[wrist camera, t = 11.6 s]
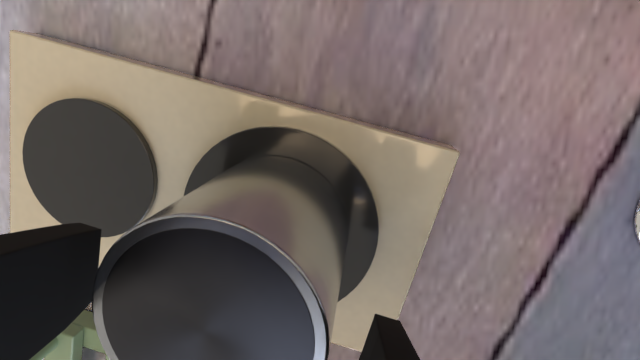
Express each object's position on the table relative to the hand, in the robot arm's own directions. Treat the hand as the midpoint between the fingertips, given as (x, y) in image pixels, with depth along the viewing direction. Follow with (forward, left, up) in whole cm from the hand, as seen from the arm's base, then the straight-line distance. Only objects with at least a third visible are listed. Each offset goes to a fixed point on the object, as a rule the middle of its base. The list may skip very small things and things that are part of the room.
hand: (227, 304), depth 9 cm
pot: (0, 0, -5) cm, 5 cm away
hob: (+3, 0, -6) cm, 7 cm away
